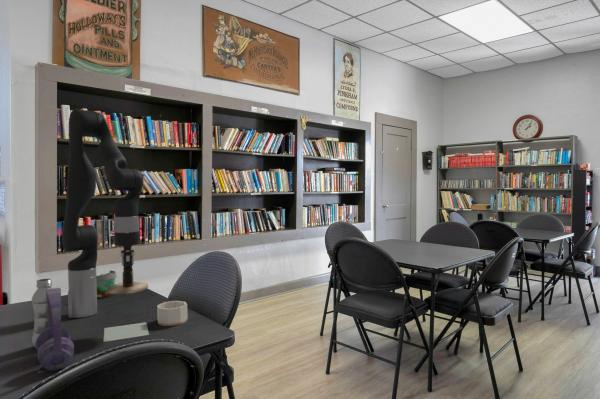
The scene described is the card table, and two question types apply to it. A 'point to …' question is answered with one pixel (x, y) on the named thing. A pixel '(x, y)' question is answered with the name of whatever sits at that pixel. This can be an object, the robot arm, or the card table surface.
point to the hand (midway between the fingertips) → (128, 282)
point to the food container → (105, 284)
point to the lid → (127, 287)
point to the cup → (172, 313)
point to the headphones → (54, 336)
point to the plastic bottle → (40, 308)
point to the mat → (125, 331)
